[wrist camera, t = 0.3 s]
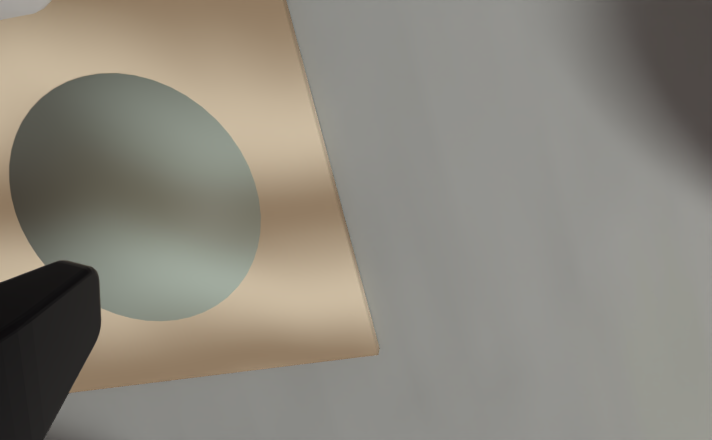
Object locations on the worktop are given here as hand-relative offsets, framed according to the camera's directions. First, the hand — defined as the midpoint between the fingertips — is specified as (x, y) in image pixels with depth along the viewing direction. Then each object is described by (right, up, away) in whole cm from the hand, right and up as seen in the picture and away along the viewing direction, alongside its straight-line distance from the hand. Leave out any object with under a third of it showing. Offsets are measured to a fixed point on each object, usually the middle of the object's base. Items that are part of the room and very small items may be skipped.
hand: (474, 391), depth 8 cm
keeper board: (-9, +3, +16) cm, 18 cm away
